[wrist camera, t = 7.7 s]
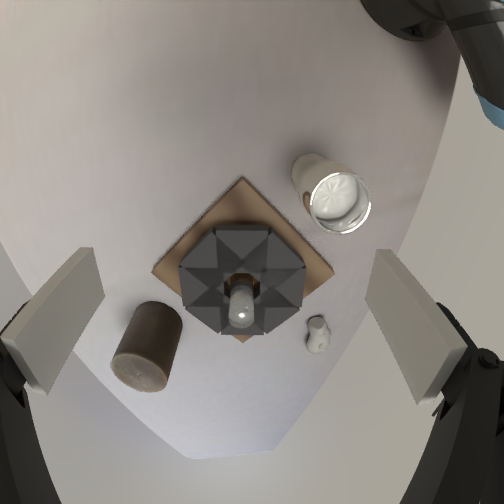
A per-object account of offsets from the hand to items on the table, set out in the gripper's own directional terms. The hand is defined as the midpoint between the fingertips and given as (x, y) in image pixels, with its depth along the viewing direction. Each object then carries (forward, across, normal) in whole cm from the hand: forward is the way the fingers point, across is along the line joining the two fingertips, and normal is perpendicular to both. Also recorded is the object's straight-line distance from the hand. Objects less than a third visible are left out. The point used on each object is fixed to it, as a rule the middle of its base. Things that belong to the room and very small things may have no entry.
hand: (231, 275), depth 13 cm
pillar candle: (+31, -16, -29) cm, 45 cm away
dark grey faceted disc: (+27, 0, -17) cm, 32 cm away
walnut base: (+31, 0, -17) cm, 35 cm away
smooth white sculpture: (+31, +14, -31) cm, 46 cm away
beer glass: (+31, +10, -1) cm, 32 cm away
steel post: (+29, 0, -17) cm, 33 cm away
